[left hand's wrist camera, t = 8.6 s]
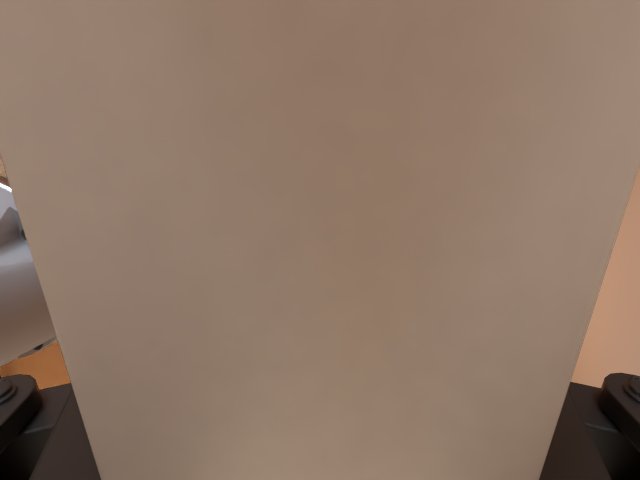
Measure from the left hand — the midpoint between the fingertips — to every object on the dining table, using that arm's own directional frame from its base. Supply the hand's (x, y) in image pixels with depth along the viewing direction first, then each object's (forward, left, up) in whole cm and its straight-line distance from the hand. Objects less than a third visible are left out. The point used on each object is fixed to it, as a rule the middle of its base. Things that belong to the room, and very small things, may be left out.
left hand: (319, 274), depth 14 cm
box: (+9, +2, -3) cm, 10 cm away
